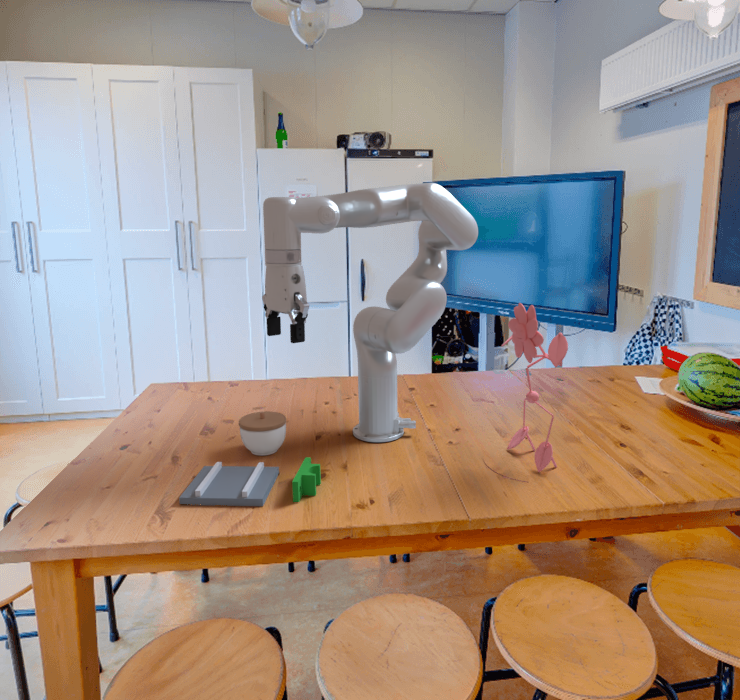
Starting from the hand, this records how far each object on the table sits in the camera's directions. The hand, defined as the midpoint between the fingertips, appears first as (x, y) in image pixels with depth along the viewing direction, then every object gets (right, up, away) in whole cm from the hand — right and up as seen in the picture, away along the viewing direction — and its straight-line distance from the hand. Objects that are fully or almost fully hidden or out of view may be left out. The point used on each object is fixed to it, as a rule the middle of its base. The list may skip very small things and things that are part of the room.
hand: (285, 338), depth 123 cm
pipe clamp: (+6, -31, -9) cm, 32 cm away
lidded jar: (-6, -26, +10) cm, 29 cm away
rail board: (-9, -30, -8) cm, 33 cm away
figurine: (+50, -27, +2) cm, 57 cm away
